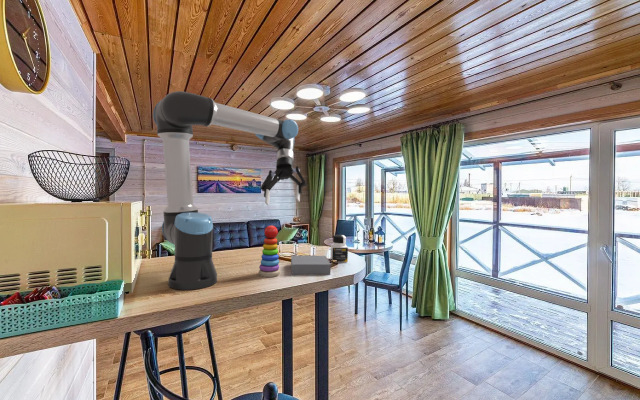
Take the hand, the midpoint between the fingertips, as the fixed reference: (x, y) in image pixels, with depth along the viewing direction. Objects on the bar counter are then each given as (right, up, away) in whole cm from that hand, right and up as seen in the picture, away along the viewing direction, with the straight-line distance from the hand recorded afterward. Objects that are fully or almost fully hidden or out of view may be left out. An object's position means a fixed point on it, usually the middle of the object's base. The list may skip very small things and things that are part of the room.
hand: (282, 202), depth 121 cm
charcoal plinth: (+11, -28, -2) cm, 30 cm away
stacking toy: (-4, -28, -11) cm, 30 cm away
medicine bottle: (+25, -28, +15) cm, 40 cm away
